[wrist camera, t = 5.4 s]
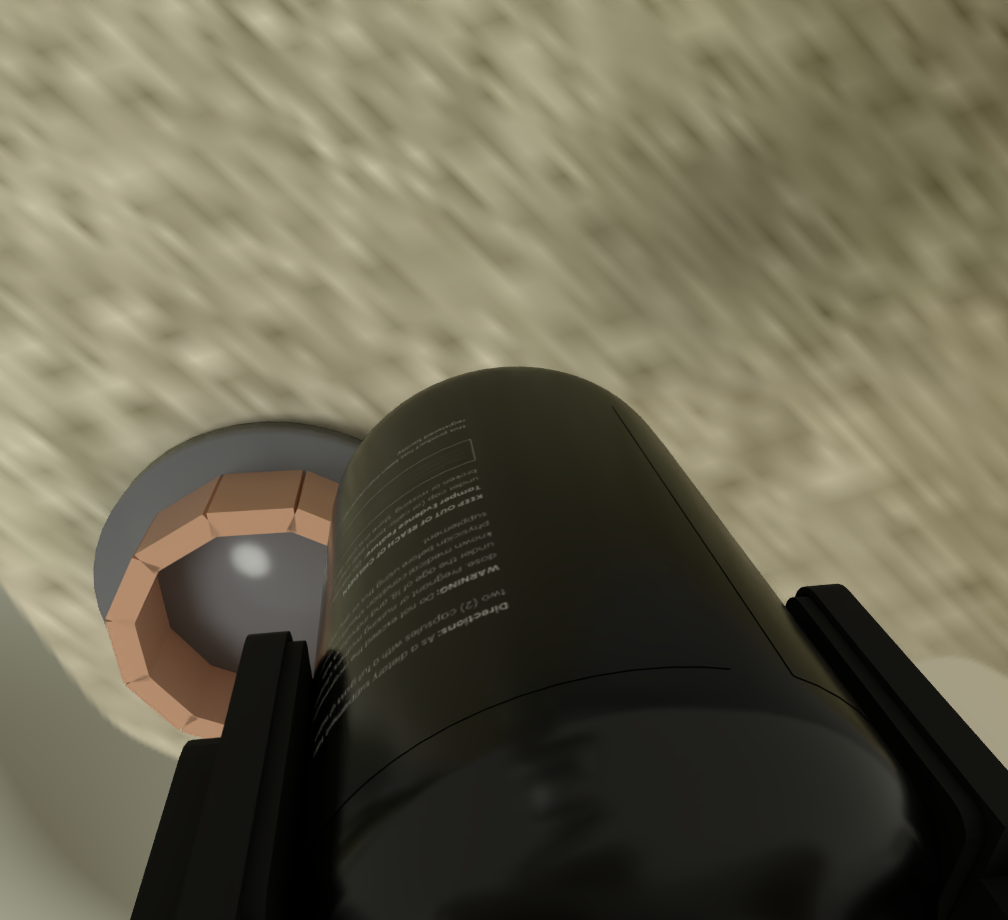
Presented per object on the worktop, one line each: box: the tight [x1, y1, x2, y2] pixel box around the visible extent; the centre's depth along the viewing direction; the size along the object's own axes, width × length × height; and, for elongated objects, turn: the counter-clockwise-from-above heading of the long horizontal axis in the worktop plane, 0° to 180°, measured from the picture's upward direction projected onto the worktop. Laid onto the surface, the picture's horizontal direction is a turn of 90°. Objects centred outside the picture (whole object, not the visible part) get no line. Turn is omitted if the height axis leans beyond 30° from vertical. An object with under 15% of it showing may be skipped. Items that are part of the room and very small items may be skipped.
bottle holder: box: [94, 422, 362, 739], centre depth 31 cm, size 15×15×4 cm
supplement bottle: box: [289, 367, 939, 920], centre depth 10 cm, size 7×7×12 cm
